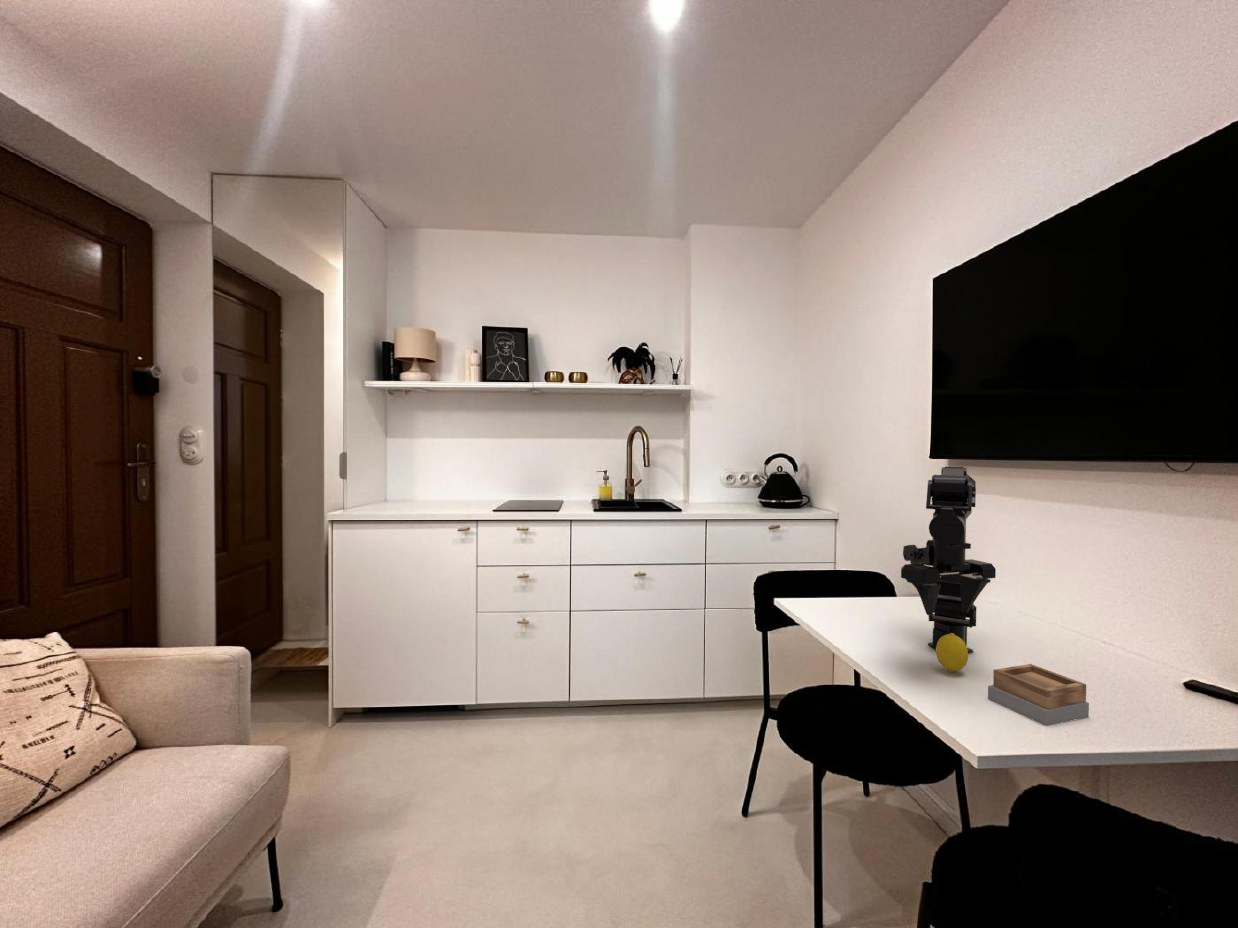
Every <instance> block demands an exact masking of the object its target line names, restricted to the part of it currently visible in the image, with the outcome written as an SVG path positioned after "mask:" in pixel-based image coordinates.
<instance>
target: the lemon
mask: <svg viewBox="0 0 1238 928" xmlns="http://www.w3.org/2000/svg"><path fill="white" fill-rule="evenodd" d="M967 648H968V646H967V647H966V644H965V642H964V641H963V640H962V639H961V638H960V637H958V636H956V635H955V634H954V633H950V634H947V635H944V636H942V637H941V638H940V639H939V640H938V643H937V646H936V648H935V654H936V658H937V661H938V663H939V664H940V665H941V666H942V667H943V668H945V669H946V670H948V672H949V673H954V672H956V671H960V670H962V669H963V668H964V667H966V666H967V663H968V660H969V653H968V650H967Z"/></svg>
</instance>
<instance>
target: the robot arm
mask: <svg viewBox="0 0 1238 928" xmlns="http://www.w3.org/2000/svg"><path fill="white" fill-rule="evenodd" d="M940 471H941V473H940V474H933V475H932V476H931V479H927V490H926V492H927V493H926V503H925V509H926V510H934V512H933V513H932V519H931V520H930V522H929V525H928V532H929V535H930V536H931V538H932V539H928V540H927V541H926V544H925V545H926V546H925V547H917V545H915V544H908V545H903V548H902V549H903V550H902V557H903V559H904V561H906V562H910V563H907V564H906V563H905V564H904V565H903V566H902V567H901V568H900V578H901V579H905V580H906V582H907V583H910V584H911V585H913V586H914V587H915V589H916V591H917V592H918V595H919V598H920V601H921V603H922V606H923V608H924V611H925V614H926V616H928V622H933V628H932V641H931V642H928V643H927V646H929V647H931V648H934V649H936V646H937V643H938V640H939V639H940V638H941V637H942V636H944V635H947V634H950V633H954V634H955V635H956V636H958V637H960V638H961V639H962V640H963V641H964V642H965V644H966V647H967V650H968V654H969V653H973V652H974V649H972V648H969V647H968V646H967V645H968V642H967V641H968V628H970V629H972V628H973V627H977V606H976V605H974V603H975V602H976V600H977V598H978V597H979V595H980V594H981V592H983V590H984V589H985V587H986V586H987V584H990V583H991V579H996V576H997V575H996V574H997V573H996V572H997V571H996V570H997V569H996V568H995V565H993V563H991V562H985V561H981V560H975V559H966V550H971V549H972V547H971V545H972V543H969V542H966V539H967V519H968V518H969V517H970V515H971V514H972V512H973V511H972V510H973V509H972V508H976V501H977V500H976V498H977V497H976V496H977V486H976V485H977V484H976V483H977V482H976V481H975V480H974V479H973V478H972V477H971V476H970V475H969V474H968V468H967V467H964V466H950V465H948V466H944V467H941V470H940Z"/></svg>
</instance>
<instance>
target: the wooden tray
mask: <svg viewBox="0 0 1238 928" xmlns="http://www.w3.org/2000/svg"><path fill="white" fill-rule="evenodd" d="M992 679H993V681H992V683H993V684H992V685H993V686H994V687H996V688H999V689H1001V690H1003V691H1006V692H1008V693H1010V694H1012V695H1015V696H1017V697H1019V698H1022V699H1024V700H1026V701H1029V702H1031V703H1033V704H1036V705H1038V706H1040V707H1043V708H1045V709H1052V708H1057V707H1062V706H1067V705H1072V704H1077V703H1083V702H1087V683H1085V682H1081V681H1079V680H1076V679H1074V678H1070V677H1069V676H1068V677H1067V676H1064V675H1062V674H1059V673H1056V672H1054V671H1051V670H1048V669H1046V668H1042V667H1040V666H1037V665H1034V664H1032V663H1028V664H1022V665H1016V666H1015V665H1014V666H1009V667H1002V668H995V669H993V677H992Z"/></svg>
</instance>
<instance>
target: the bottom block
mask: <svg viewBox="0 0 1238 928" xmlns="http://www.w3.org/2000/svg"><path fill="white" fill-rule="evenodd" d="M987 700H989V701H991V702H994V703H996V704H998V705H1000V706H1002V707H1004V708H1007V709H1008V710H1011V711H1013V712H1016V713H1017V714H1019V715H1022V716H1024V717H1026V718H1028V719H1029V720H1032V719H1033V721H1034V720H1035V722H1037V723H1039V724H1041V725H1043V726H1046V727H1048V726H1051V725H1057V724H1062V723H1061V722H1063V723H1067V722H1066V721H1068V722H1071V721H1070V720H1073V721H1075V720H1074V719H1078V720H1083V719H1087V718H1090V717H1089V716H1090V715H1089V714H1090V702H1088V701H1086V702H1083V703H1077V704H1072V705H1067V706H1062V707H1057V708H1052V709H1045V708H1043V707H1040V706H1038V705H1036V704H1033V703H1031V702H1029V701H1026V700H1024V699H1022V698H1019V697H1017V696H1015V695H1012V694H1010V693H1008V692H1006V691H1003V690H1001V689H999V688H996V687H994V686H993V684H989V685H987Z"/></svg>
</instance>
